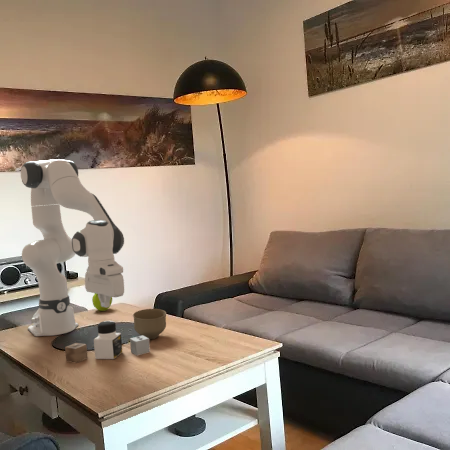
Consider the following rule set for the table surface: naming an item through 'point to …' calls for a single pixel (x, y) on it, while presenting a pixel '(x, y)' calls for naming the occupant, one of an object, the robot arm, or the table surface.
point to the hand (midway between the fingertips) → (105, 306)
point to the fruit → (99, 303)
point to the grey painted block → (139, 345)
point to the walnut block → (76, 352)
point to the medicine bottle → (107, 341)
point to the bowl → (150, 322)
